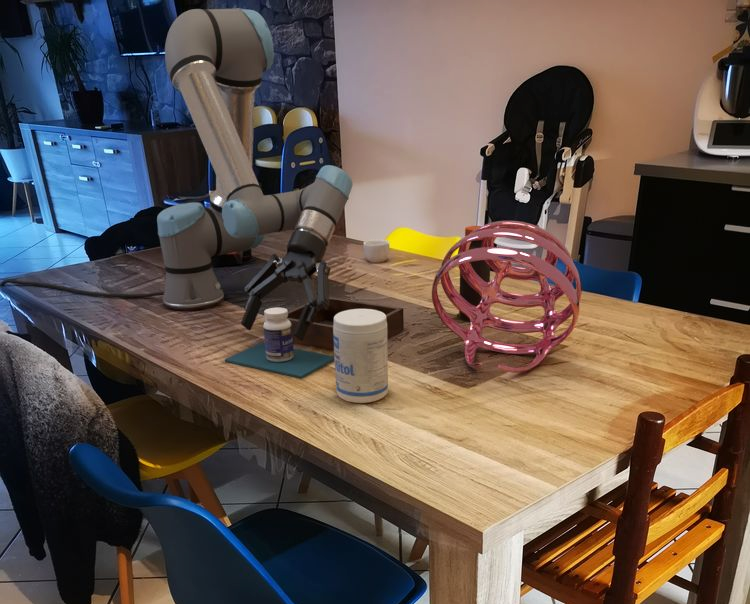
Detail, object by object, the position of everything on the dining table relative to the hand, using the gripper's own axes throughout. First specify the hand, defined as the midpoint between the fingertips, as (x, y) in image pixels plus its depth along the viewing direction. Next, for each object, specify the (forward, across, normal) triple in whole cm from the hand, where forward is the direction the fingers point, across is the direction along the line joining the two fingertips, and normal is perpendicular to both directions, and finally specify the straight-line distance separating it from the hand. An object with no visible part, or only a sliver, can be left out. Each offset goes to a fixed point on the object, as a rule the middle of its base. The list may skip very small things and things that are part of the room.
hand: (270, 332), depth 150 cm
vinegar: (-27, -23, -36) cm, 51 cm away
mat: (+3, 0, -6) cm, 7 cm away
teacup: (-53, +28, -63) cm, 87 cm away
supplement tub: (+8, -25, -1) cm, 27 cm away
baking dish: (-38, +69, -49) cm, 93 cm away
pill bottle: (+3, 0, -6) cm, 6 cm away
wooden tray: (-10, -2, -19) cm, 22 cm away
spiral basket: (-12, -41, -21) cm, 48 cm away
